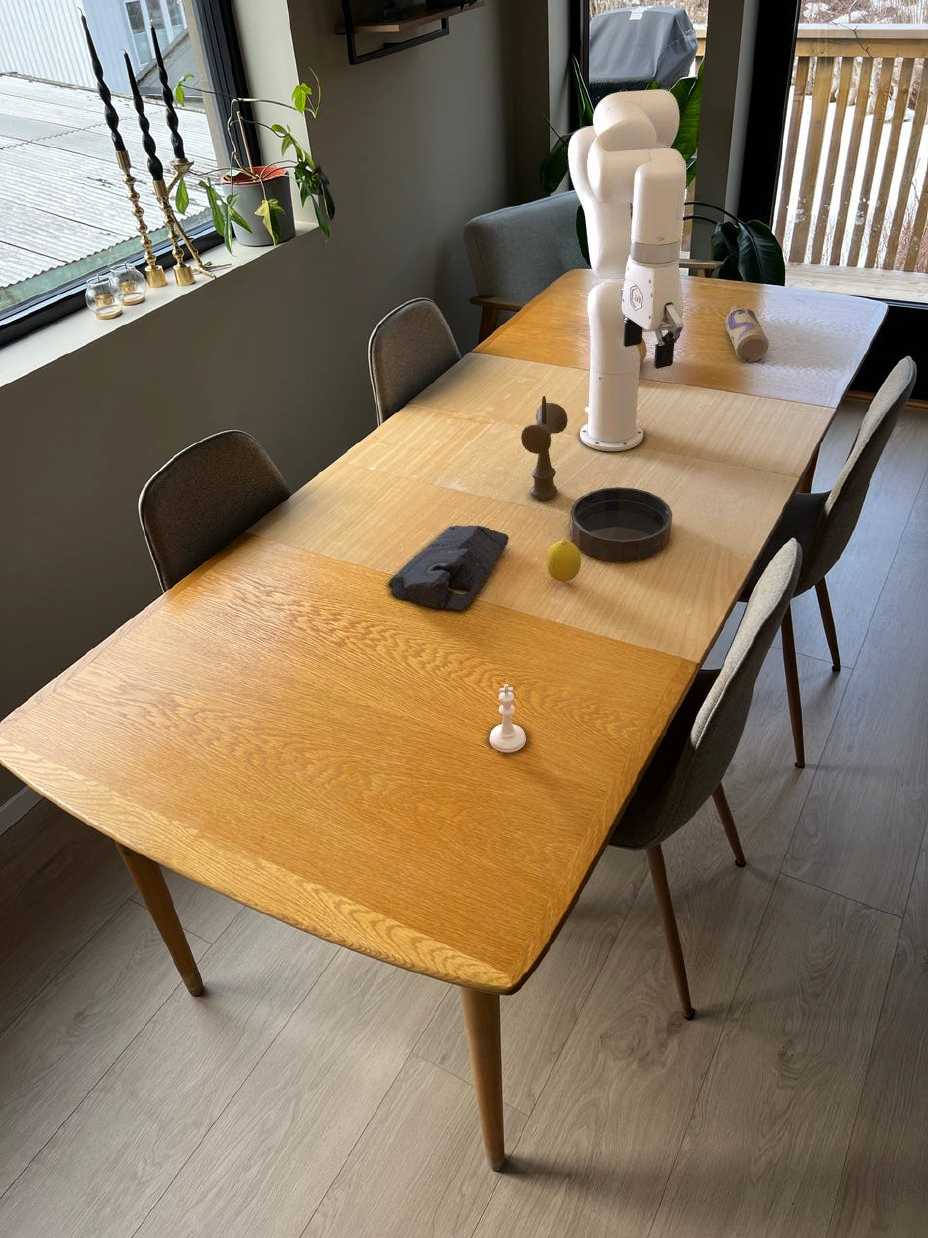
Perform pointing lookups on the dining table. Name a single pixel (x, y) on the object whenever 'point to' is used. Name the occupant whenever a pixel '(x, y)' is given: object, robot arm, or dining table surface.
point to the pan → (620, 524)
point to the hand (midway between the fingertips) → (647, 355)
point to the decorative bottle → (746, 334)
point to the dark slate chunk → (450, 567)
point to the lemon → (563, 561)
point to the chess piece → (507, 725)
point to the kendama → (544, 447)
